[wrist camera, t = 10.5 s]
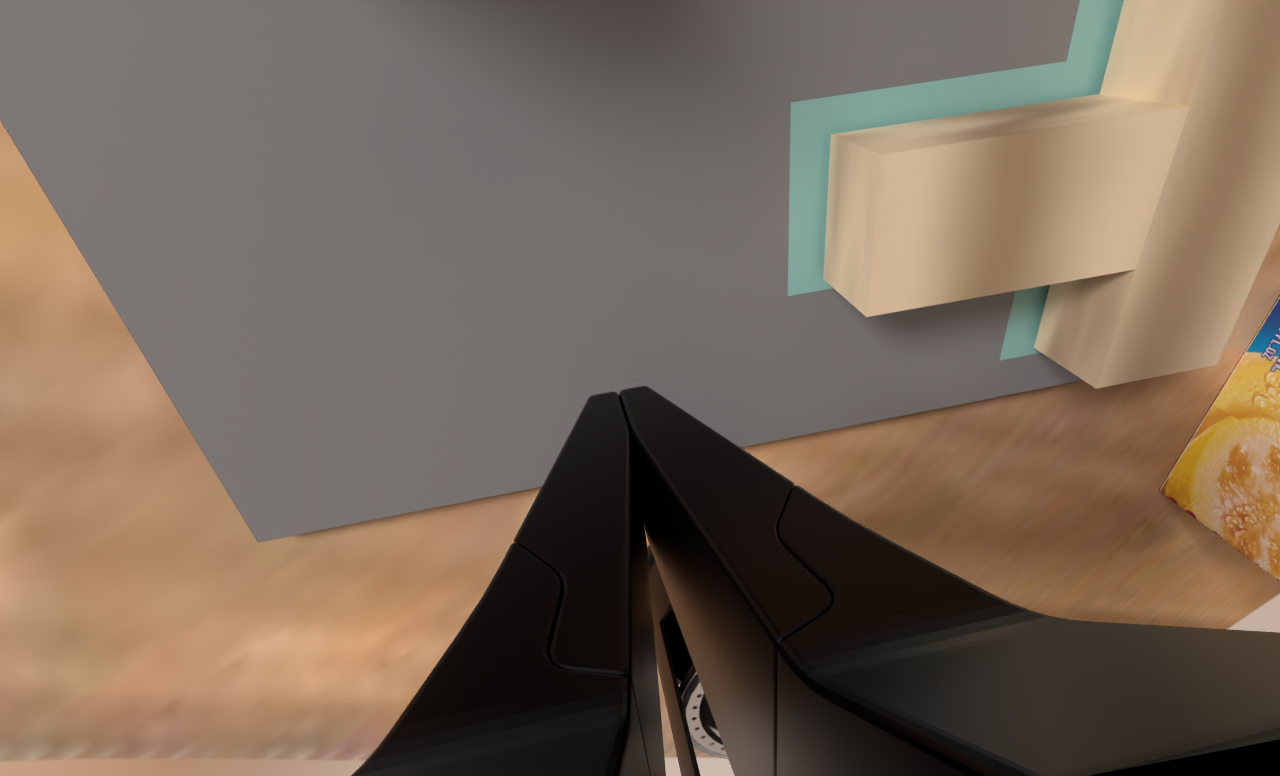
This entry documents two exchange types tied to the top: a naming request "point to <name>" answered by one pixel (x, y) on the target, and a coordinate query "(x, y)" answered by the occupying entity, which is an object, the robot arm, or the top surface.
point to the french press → (681, 683)
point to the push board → (508, 219)
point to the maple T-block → (1085, 197)
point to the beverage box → (1239, 455)
